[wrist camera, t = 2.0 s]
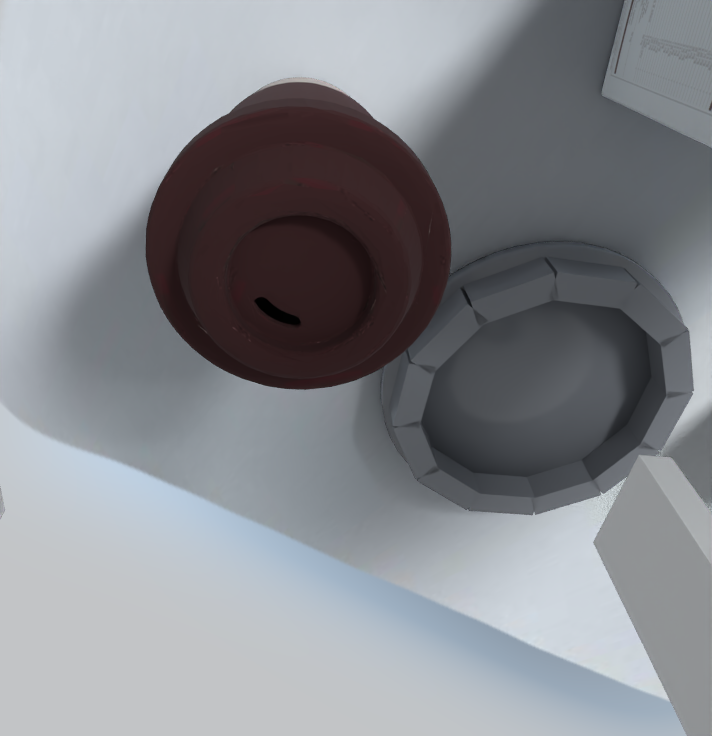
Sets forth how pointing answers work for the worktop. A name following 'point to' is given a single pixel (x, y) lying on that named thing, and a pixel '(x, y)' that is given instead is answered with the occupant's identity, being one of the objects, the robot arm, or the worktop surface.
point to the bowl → (539, 379)
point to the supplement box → (665, 64)
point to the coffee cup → (298, 240)
